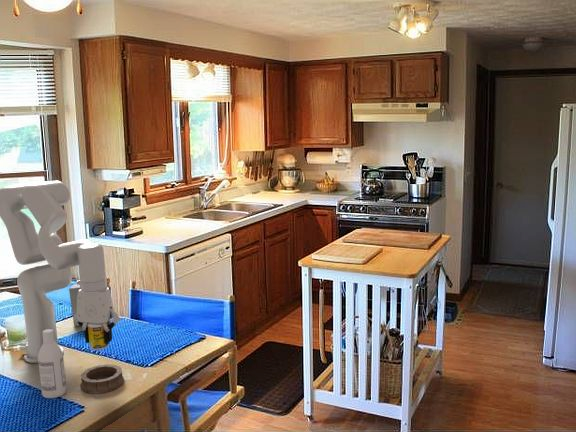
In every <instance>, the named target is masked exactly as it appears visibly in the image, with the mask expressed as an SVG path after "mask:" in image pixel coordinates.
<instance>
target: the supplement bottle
mask: <svg viewBox="0 0 576 432" xmlns="http://www.w3.org/2000/svg"><path fill="white" fill-rule="evenodd" d="M104 331H105V329H104V326H103V324H95V323H88V333H89V349H91V350H93V351H101V350H105V349H107V348H108V347H109V343H110V342H109V343H108V344H105V342H104Z"/></svg>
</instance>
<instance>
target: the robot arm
mask: <svg viewBox="0 0 576 432" xmlns="http://www.w3.org/2000/svg"><path fill="white" fill-rule="evenodd" d="M70 198H71V192H70V190H69V188H68V186H67V185H66V184H65V183H64V182H63V181H60V180H47V181H45V180H43V181H35V182H34V181H33V182H29V183H28V182H26V183H17V184H11V185H7V186H3V187H1V188H0V219H1V220H2V222H3V224H4V225H5V228H6V231H7V234H8V237H9V241H10V245H11V248H12V249H11V250H12V252H13V255H14V258H15V261H16V262H17V263H18V264H20V265H21V266H22V265H24V266H26V265H28V266H29V265H32V264H37V263H41V262H47V264H44V265H43V264H42V265H38V266H34V267H30V268H28V269H25V270H23V271H21V272H20V273H19V274H18V276H17V279H16V282H17V287H18V290H19V293H20V297H21V301H22V307H23V314H24V323H25V330H26V339H27V340H26V341H27V342H26V341H22V342H21V343H20V346H19V347H18V350H20V351H25V354H24V356H23V359H24V361H26V362H28V363H31V364H38V354H39V351H40V349H41V347H42V345H43V343H44V342H43V333H42V332H43V331H44V330H46V329H52V330H53V335H54V341H55V343H56V344H57V345H58V346H59V347H60V348H61V350H62V353H63V354H64V347H62V346H60V345H59V341H58V332H57V322H56V314H55V313H56V311H55V305H54V303H53V301H52V300H51V299H49V298H48V297H47V296H46V294H49V293H51V292H55V291H59V290H62V289H65V288H67V287H68V286H70V285H71V283H72V280H73V278H72V271H71V268H72V267H76V266H78V267H77V268H78V277H79V280H77V281H76V283H77V285H80V288H81V289H80V290H78V295H77V313H76V314H75V316H74V317H73V316H72V320H73V319H74V320H75V321H76V322H78V324H79V325H80V326H79V327H81V329H82V331H83V332H84V339H85V343H86V344H88V343H89V333H88V323H95V324H103V326H104V329H105V331H104V342H105V344H108V343H110V342H111V341H112V339H113V328H114V327H115V326H116V325H117V324H118V323H119V322H120V321H121V317H120V316H119V314H117V312H115V310H114V302H113V298H112V294H111V290H110V288H109V287H108V284H107V275H106V274H107V273H106V272H107V271H106V261H105V253H104V252H105V251H104V247H103V245H102V244H100V243H95V242H92V241H91V240H89V239H85V238H83V239H77V240H73V241H69V242H63V241H62V239H61V237H60V236H59V235H58V234H56V232H58V231H59V230H60V229H61V228H62V227H63V226H65V224H66V222H67V219H68V215H67V214H68V213H66V211H65V210H64V208H63V207H62V206H65V205H67V204H68V203H70ZM22 210H29V212H30V213H31V215H32V216H33V217H34V220H36V222H37V223H38V225H39V226H40V227H39V231H38V232H37V230H36V226H35V224H34V221H33V220H32V218H31V216H29V215H28V214H27V213H25V212H24V211H22Z"/></svg>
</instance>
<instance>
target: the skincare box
mask: <svg viewBox="0 0 576 432" xmlns="http://www.w3.org/2000/svg"><path fill="white" fill-rule="evenodd" d="M80 289H81V288H80V285H77V282H76V283H75V284H72V285H71V287H69V288H68V293H69V300H70V305H71V306H70V307H71V313H72V323H73V326H74V327H81V326H80V325H79V324H78V322H76V321H75V320H74V319H73V317H74V316H75V314H76V313H77V295H78V290H80Z"/></svg>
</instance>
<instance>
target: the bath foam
mask: <svg viewBox="0 0 576 432" xmlns="http://www.w3.org/2000/svg"><path fill="white" fill-rule="evenodd" d="M42 333H43V342H44V343H43V345H42V347H41V349H40V351H39V354H38V363H37V365H38V371H39V372H38V373H39V381H40V389H41V395H42V397H44V398H45V399H55V398H59V397H61V396H63V395H64V394H65V393H66V392H67V381H66V370H65V361H64V352H63V353H62V350H61V348H60V347H61V346H60V345H59V344H58V345H57V344H56V343H55V341H54V335H53V330H52V329H46V330H44V331H43V332H42ZM59 346H60V347H59Z"/></svg>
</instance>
